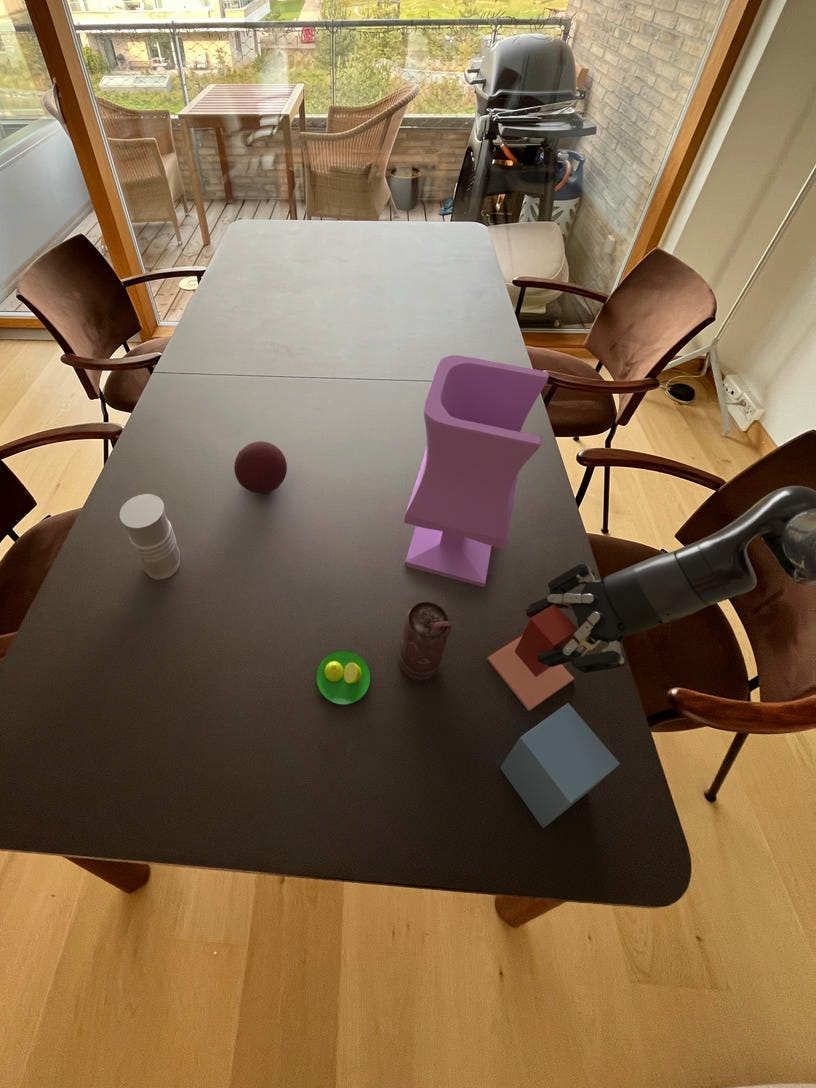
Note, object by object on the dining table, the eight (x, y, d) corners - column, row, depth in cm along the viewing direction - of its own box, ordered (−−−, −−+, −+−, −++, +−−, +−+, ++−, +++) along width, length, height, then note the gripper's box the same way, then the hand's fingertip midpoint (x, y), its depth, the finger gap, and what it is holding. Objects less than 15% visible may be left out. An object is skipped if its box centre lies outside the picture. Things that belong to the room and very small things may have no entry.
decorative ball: (280, 508, 108) (276, 472, 101) (230, 499, 110) (222, 463, 102) (294, 470, 115) (291, 434, 108) (247, 462, 116) (241, 427, 109)
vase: (488, 593, 95) (542, 445, 70) (397, 568, 99) (418, 418, 74) (500, 522, 105) (550, 371, 81) (417, 502, 109) (441, 351, 84)
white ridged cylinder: (133, 569, 99) (109, 515, 88) (163, 542, 103) (143, 487, 92) (161, 589, 96) (139, 535, 85) (191, 560, 100) (173, 505, 89)
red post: (558, 662, 83) (578, 629, 75) (535, 677, 81) (554, 645, 74) (536, 637, 85) (554, 603, 78) (514, 651, 84) (530, 618, 77)
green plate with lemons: (365, 649, 88) (366, 641, 86) (374, 702, 83) (375, 694, 81) (314, 656, 88) (313, 647, 86) (319, 709, 82) (318, 701, 80)
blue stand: (588, 792, 74) (620, 763, 66) (543, 828, 72) (570, 803, 63) (543, 736, 79) (568, 702, 71) (499, 768, 76) (520, 737, 68)
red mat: (573, 680, 85) (574, 678, 84) (528, 711, 82) (529, 710, 81) (530, 631, 90) (531, 629, 90) (486, 659, 87) (487, 657, 87)
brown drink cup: (442, 685, 84) (456, 641, 74) (399, 684, 84) (407, 640, 74) (437, 646, 89) (450, 599, 79) (396, 645, 89) (404, 599, 79)
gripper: (619, 531, 73) (508, 581, 82) (665, 636, 63) (532, 681, 72) (645, 554, 77) (535, 600, 86) (692, 657, 67) (563, 697, 75)
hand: (535, 637), depth 79 cm, fingers closed on red post, 6 cm apart
